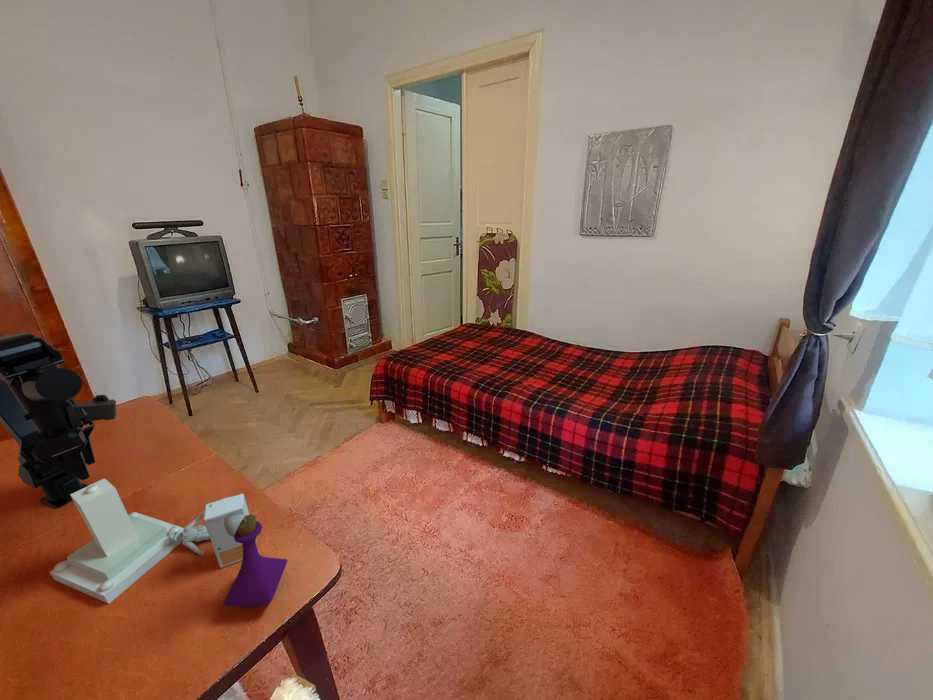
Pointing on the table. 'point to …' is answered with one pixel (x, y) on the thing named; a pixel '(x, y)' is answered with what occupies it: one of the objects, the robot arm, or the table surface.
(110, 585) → the studded pedestal base
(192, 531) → the soldier figure
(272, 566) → the perfume bottle
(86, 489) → the tall brick
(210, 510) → the skincare box
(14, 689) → the table surface
